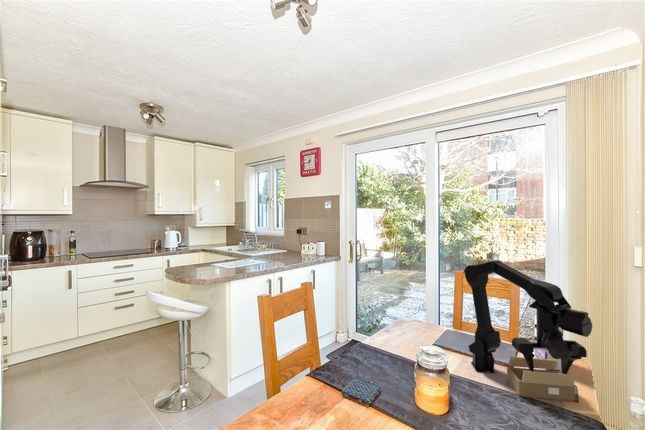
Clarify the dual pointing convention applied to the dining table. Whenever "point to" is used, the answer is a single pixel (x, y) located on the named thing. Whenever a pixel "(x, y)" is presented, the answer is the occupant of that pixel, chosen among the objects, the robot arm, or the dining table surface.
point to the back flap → (536, 363)
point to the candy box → (546, 351)
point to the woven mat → (361, 391)
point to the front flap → (548, 378)
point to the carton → (538, 386)
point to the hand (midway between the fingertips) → (547, 373)
